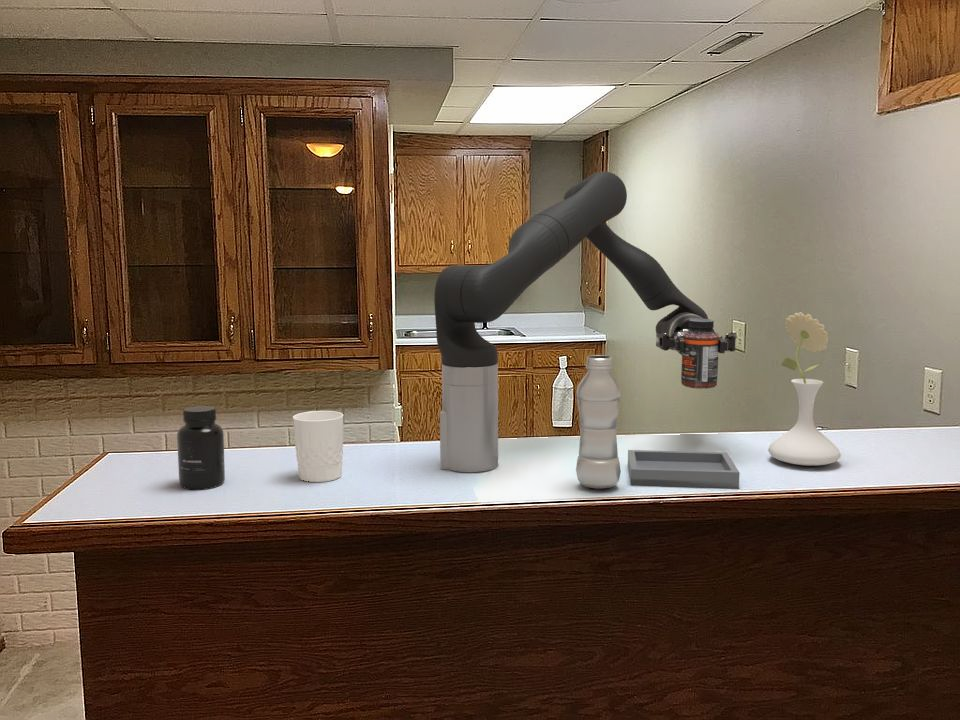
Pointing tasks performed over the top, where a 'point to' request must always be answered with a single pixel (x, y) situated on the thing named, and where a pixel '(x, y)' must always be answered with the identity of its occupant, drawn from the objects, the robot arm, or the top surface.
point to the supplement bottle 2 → (700, 355)
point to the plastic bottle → (598, 425)
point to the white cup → (319, 445)
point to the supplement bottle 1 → (200, 449)
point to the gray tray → (682, 469)
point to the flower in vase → (805, 401)
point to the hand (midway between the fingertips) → (702, 346)
